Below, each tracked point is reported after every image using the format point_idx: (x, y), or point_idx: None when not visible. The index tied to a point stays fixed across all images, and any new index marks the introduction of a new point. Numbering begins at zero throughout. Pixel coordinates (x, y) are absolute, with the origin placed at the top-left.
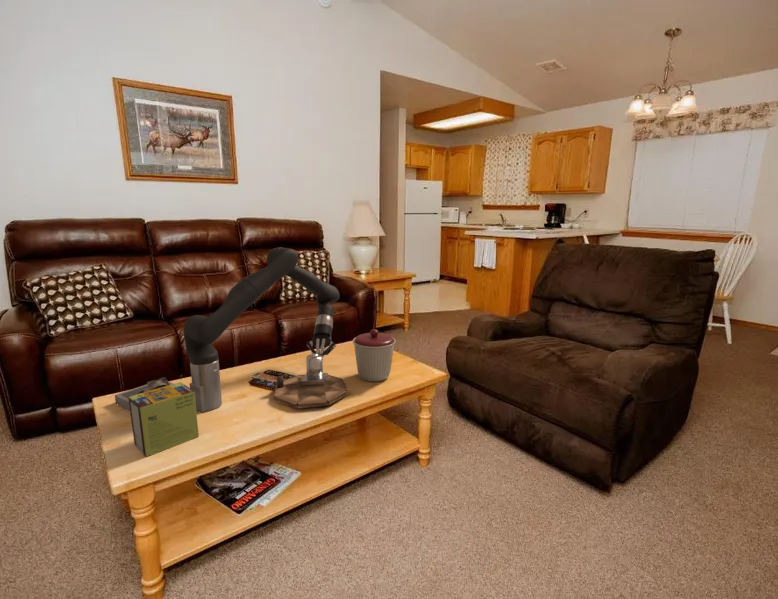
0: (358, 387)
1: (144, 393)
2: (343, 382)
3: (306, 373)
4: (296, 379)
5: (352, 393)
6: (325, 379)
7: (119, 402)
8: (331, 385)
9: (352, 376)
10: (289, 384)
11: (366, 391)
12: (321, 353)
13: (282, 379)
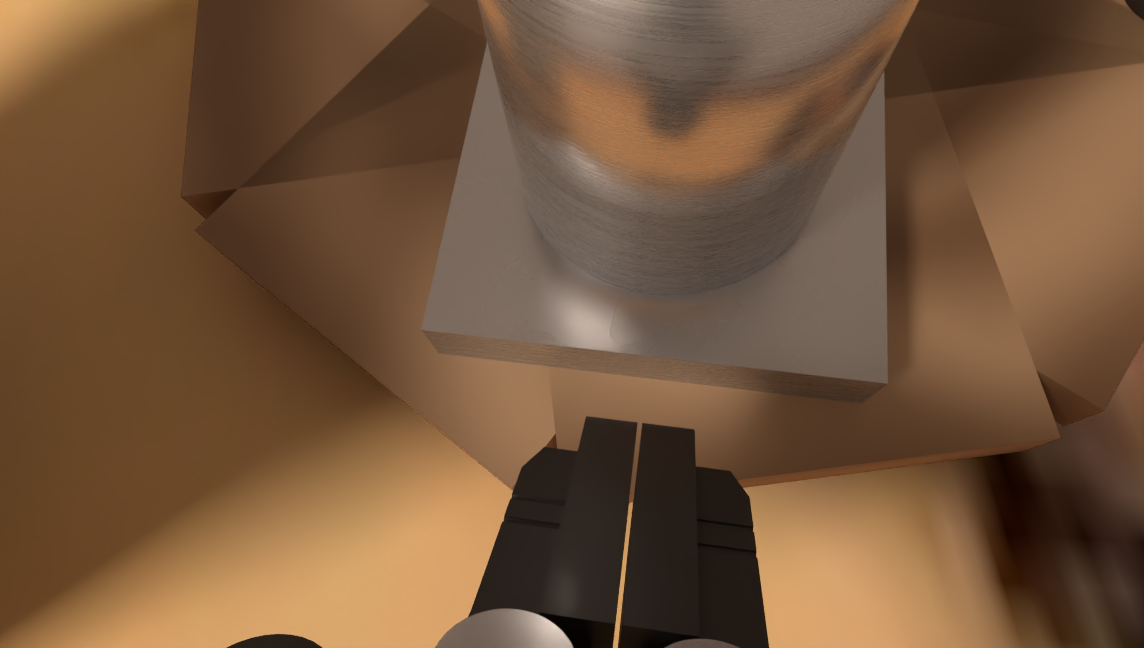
0: (62, 182)
1: None
2: (215, 105)
3: (870, 315)
4: (1008, 234)
5: (179, 34)
6: (479, 105)
7: None
8: (400, 20)
9: (31, 598)
10: (1057, 59)
11: (3, 76)
12: (506, 624)
13: None
